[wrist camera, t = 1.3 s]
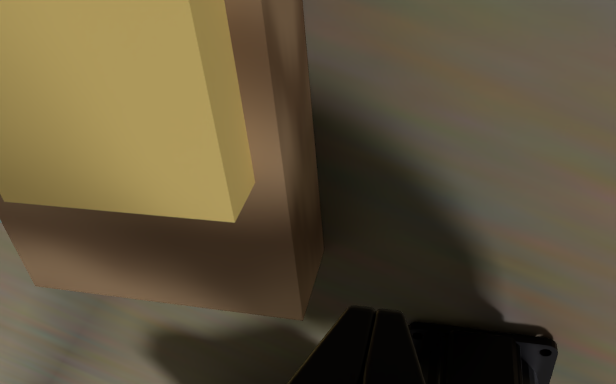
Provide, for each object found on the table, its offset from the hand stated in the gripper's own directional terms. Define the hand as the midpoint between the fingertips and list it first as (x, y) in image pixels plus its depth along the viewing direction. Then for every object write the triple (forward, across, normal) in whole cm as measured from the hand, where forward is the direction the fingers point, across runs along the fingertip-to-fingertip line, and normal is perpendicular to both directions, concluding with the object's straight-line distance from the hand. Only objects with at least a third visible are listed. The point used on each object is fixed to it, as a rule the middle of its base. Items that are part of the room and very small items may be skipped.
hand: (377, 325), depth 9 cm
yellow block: (+8, +9, 0) cm, 12 cm away
